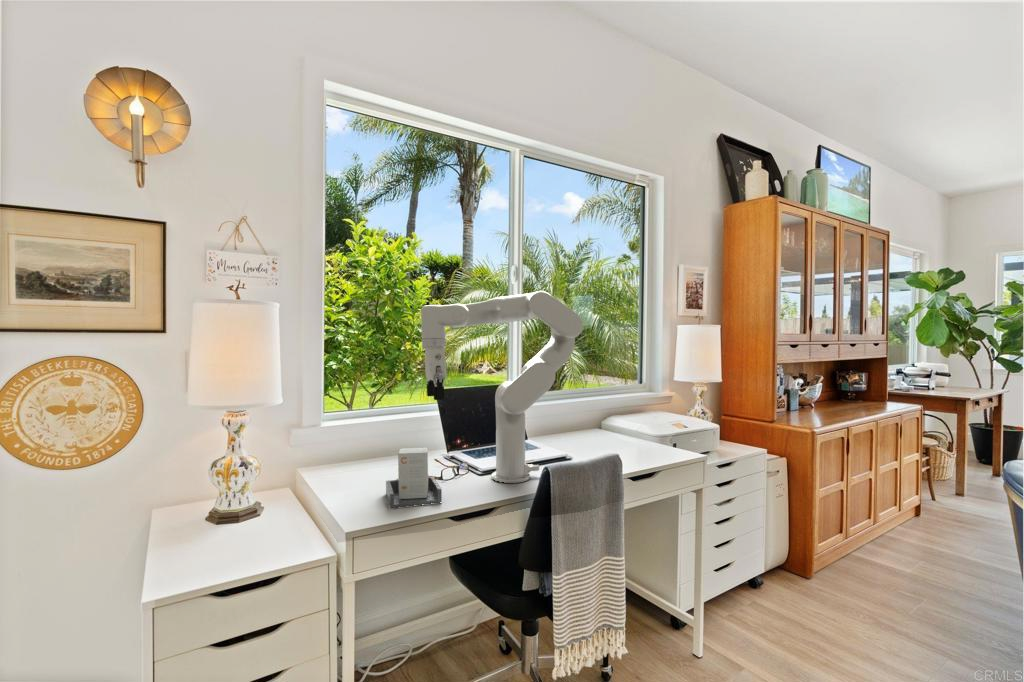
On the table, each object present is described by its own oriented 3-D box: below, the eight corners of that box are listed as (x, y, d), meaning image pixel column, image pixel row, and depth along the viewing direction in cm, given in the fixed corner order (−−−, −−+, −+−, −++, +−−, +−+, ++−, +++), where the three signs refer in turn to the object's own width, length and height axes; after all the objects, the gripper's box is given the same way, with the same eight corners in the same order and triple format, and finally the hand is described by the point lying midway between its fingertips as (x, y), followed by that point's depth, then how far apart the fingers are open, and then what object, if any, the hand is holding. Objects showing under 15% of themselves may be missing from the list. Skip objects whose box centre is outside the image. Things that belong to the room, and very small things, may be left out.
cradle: (433, 489, 154) (433, 475, 154) (441, 503, 141) (441, 487, 141) (386, 494, 149) (385, 479, 149) (390, 508, 137) (390, 493, 137)
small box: (428, 491, 149) (428, 447, 149) (427, 498, 142) (427, 452, 142) (400, 492, 148) (399, 448, 147) (398, 499, 141) (398, 453, 141)
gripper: (452, 344, 155) (454, 400, 155) (439, 343, 171) (440, 394, 171) (428, 344, 152) (429, 401, 152) (416, 344, 168) (418, 395, 168)
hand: (435, 397), depth 162 cm, fingers open, 9 cm apart
